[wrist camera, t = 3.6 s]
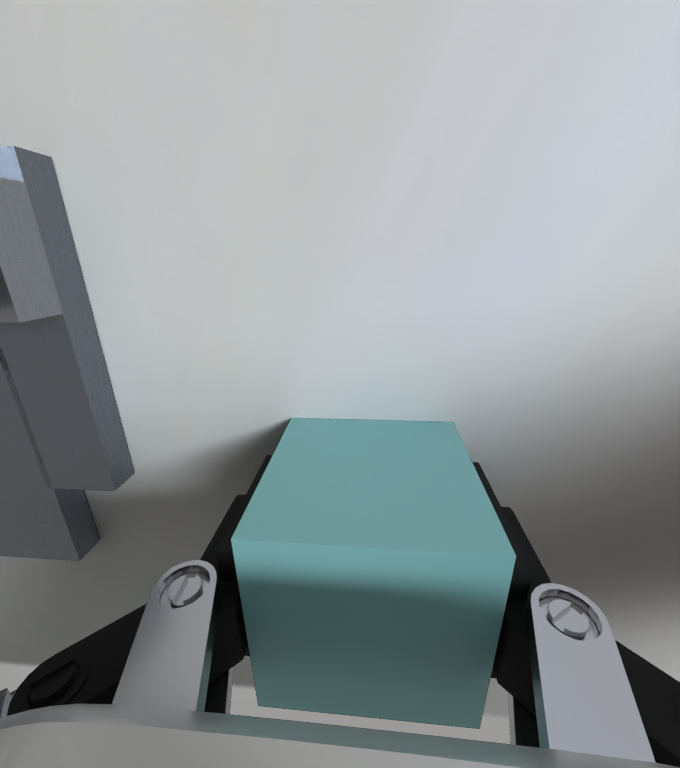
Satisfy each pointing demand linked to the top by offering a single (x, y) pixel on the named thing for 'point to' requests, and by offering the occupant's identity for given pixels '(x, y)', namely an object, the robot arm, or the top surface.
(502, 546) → the teal cube block
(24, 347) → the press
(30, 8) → the top surface
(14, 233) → the lever
